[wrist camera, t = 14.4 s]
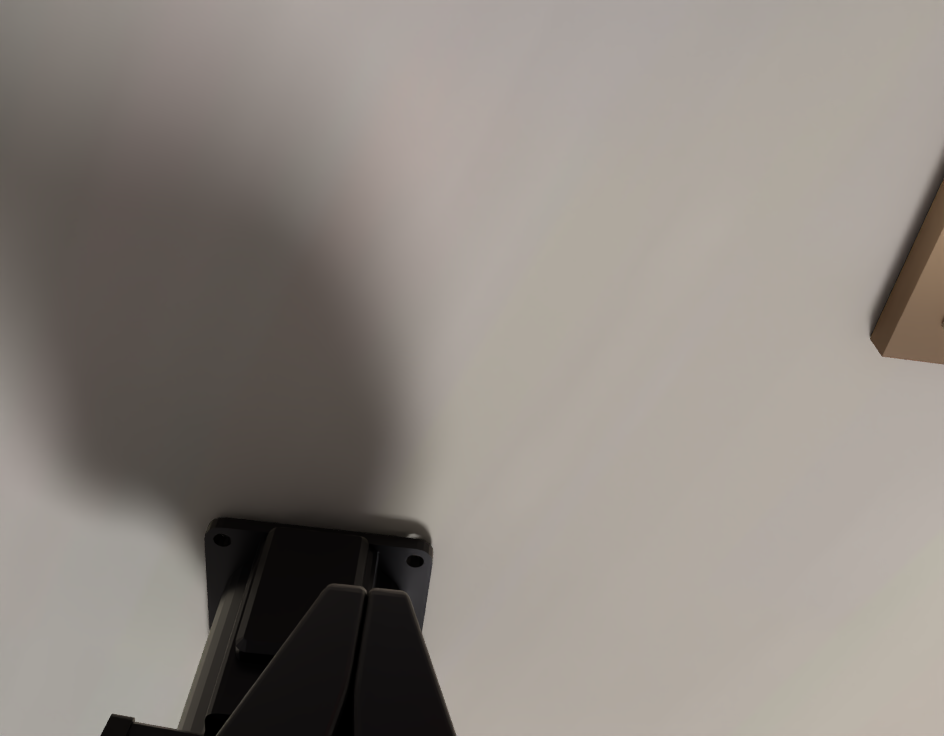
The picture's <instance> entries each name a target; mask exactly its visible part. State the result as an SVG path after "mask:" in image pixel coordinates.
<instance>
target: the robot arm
mask: <svg viewBox="0 0 944 736" xmlns="http://www.w3.org/2000/svg"><path fill="white" fill-rule="evenodd" d="M221 534H225V535H227V536H228V537H226V536H222V535H221ZM411 555H418V556H421V557H412V556H411ZM205 556H206V574H207V592H208V610H209V628H210V632H209V635H208V638H207V641H206V644H205V647H204V650H203V653H202V656H201V659H200V662H199V665H198V668H197V671H196V674H195V677H194V680H193V683H192V686H191V689H190V692H189V695H188V698H187V701H186V704H185V707H184V710H183V713H182V716H181V719H180V722H179V725H178V728H177V729H172V728H167V727H161V726H155V725H150V724H144V723H139V722H135V718H134V717H128V716H122V715H117V714H112V715H111V716H110V718H109V720H108V722H107V724H106V726H105V728H104V730H103V732H102V734H101V736H456V733H455V730H454V727H453V724H452V721H451V718H450V715H449V712H448V709H447V706H446V703H445V700H444V697H443V694H442V691H441V688H440V685H439V682H438V680H437V677H436V674H435V671H434V668H433V665H432V662H431V659H430V656H429V653H428V650H427V647H426V644H425V641H424V638H423V635H422V628H423V621H424V615H425V608H426V602H427V595H428V589H429V582H430V576H431V569H432V562H433V548H432V547H431V545H430V544H429V543H427V542H426V541H424V540H420V539H414V538H405V537H396V536H387V535H378V534H369V533H360V532H351V531H342V530H333V529H324V528H315V527H306V526H297V525H288V524H279V523H270V522H261V521H252V520H243V519H234V518H217V519H214V520H213V521H212V522H211V523H210V524H209V526H208V529H207V531H206V534H205Z"/></svg>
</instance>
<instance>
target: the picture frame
mask: <svg viewBox="0 0 944 736" xmlns="http://www.w3.org/2000/svg"><path fill="white" fill-rule="evenodd" d="M870 339H871V341H872V342H873V344H874V345H875V347H876V348H877V350H878V351H879V353H880V354H881V356H882V357H890V358H898V359H906V360H914V361H922V362H930V363H937V364H944V179H943V181H942V183H941V186H940V188H939V190H938V192H937V194H936V196H935V199H934V201H933V203H932V205H931V207H930V209H929V212H928V214H927V216H926V218H925V220H924V222H923V225H922V227H921V229H920V231H919V233H918V235H917V238H916V240H915V242H914V244H913V246H912V248H911V251H910V253H909V255H908V257H907V259H906V261H905V264H904V266H903V268H902V270H901V272H900V274H899V277H898V279H897V281H896V283H895V285H894V287H893V290H892V292H891V294H890V296H889V298H888V300H887V303H886V305H885V307H884V309H883V311H882V313H881V316H880V318H879V320H878V322H877V324H876V326H875V329H874V331H873V333H872V335H871V337H870Z"/></svg>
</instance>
